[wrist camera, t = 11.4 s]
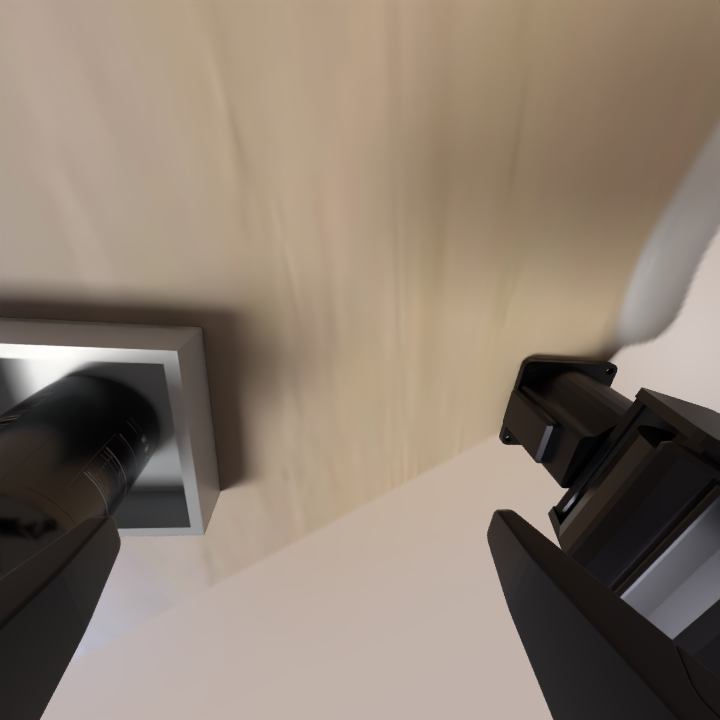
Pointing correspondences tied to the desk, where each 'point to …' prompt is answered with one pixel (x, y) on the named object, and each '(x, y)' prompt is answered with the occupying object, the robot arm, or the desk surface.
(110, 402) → the supplement bottle
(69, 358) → the box
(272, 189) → the desk surface
